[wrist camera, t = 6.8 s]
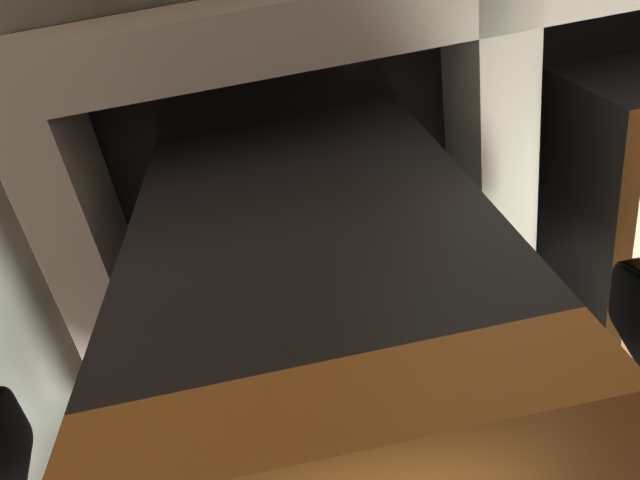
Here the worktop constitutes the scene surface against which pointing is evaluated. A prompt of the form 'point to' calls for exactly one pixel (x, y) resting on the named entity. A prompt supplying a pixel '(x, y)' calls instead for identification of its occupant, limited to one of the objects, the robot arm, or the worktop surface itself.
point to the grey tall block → (339, 322)
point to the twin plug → (591, 175)
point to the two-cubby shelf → (270, 101)
